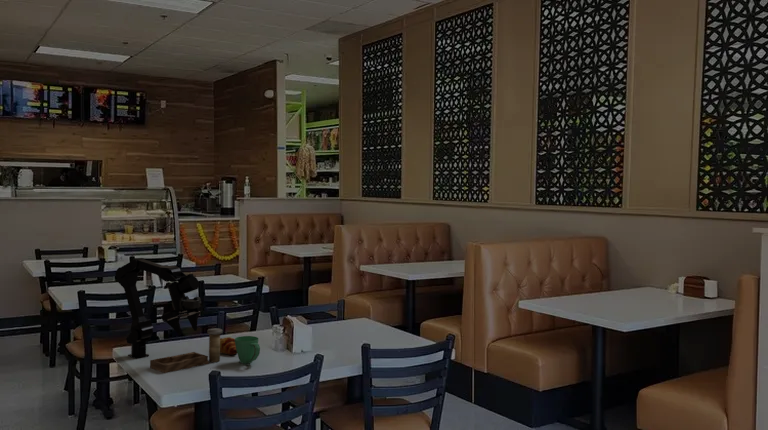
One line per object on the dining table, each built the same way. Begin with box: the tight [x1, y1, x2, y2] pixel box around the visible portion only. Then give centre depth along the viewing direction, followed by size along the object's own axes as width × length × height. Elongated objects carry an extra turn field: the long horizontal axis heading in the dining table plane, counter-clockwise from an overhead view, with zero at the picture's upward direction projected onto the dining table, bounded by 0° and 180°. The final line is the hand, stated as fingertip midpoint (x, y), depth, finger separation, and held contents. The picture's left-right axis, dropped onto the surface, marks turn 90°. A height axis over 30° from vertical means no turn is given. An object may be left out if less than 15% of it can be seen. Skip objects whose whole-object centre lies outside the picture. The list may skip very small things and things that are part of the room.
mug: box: [234, 335, 261, 365], centre depth 275 cm, size 15×10×10 cm
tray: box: [149, 351, 210, 374], centre depth 269 cm, size 20×11×3 cm, turn 140°
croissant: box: [220, 336, 238, 356], centre depth 294 cm, size 21×10×8 cm, turn 38°
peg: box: [206, 328, 223, 363], centre depth 277 cm, size 6×6×13 cm
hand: (188, 332), depth 270 cm, fingers open, 9 cm apart
